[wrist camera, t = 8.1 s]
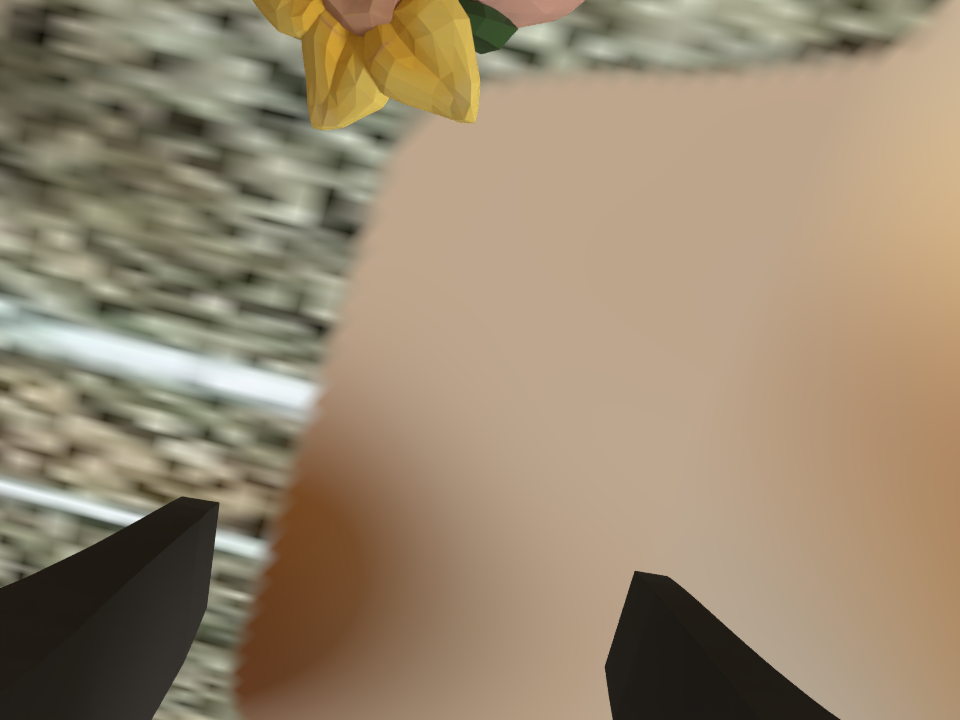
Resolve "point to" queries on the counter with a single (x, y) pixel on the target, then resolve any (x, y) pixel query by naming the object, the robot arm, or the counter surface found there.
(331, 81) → the figurine
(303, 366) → the counter surface
